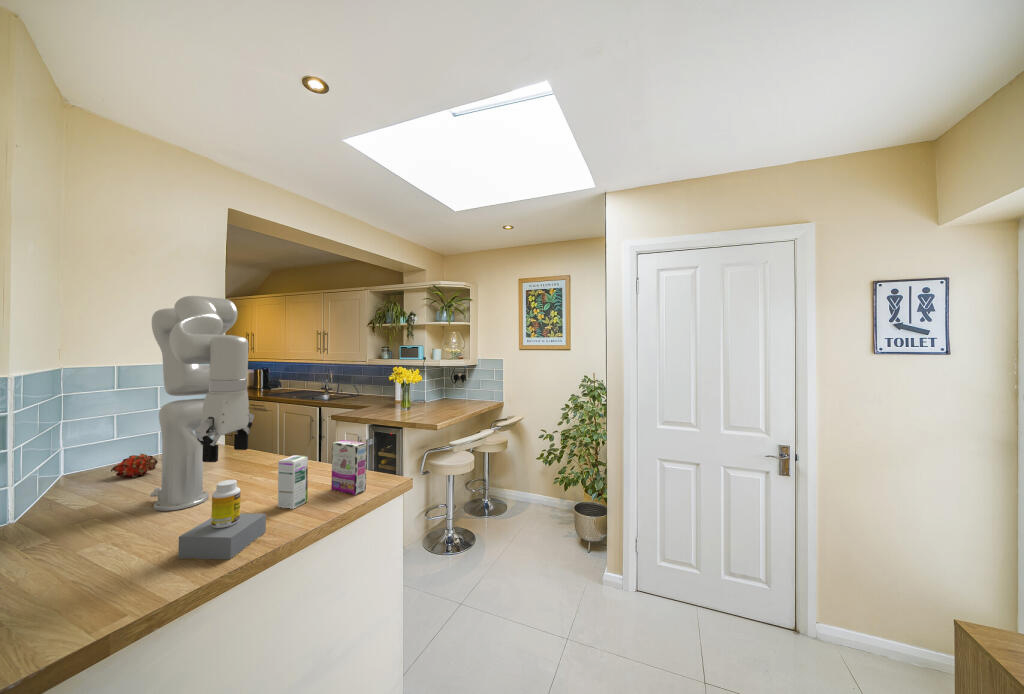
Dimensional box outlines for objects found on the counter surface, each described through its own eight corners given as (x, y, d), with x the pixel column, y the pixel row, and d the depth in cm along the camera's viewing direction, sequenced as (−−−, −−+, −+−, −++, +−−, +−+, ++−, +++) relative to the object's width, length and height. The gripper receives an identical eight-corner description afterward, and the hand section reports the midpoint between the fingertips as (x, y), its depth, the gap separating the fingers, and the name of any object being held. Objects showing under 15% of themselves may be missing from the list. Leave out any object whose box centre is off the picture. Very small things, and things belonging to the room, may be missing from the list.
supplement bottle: (237, 526, 89) (237, 484, 89) (208, 531, 87) (209, 488, 87) (242, 516, 94) (243, 477, 94) (214, 520, 92) (215, 480, 92)
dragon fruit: (160, 476, 138) (114, 489, 130) (159, 459, 142) (114, 470, 134) (156, 462, 133) (108, 474, 125) (155, 445, 138) (108, 455, 130)
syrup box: (293, 509, 110) (294, 461, 110) (276, 507, 111) (277, 459, 111) (307, 502, 115) (308, 456, 115) (291, 500, 116) (292, 454, 116)
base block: (178, 558, 84) (178, 536, 84) (219, 531, 96) (220, 512, 96) (230, 559, 84) (231, 537, 84) (265, 532, 96) (266, 513, 96)
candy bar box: (366, 490, 125) (367, 442, 125) (355, 495, 121) (356, 446, 121) (342, 485, 130) (343, 439, 130) (330, 490, 125) (331, 442, 125)
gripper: (239, 381, 99) (237, 445, 99) (181, 390, 81) (179, 466, 82) (267, 382, 99) (265, 446, 99) (215, 391, 81) (213, 467, 82)
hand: (226, 455), depth 90 cm, fingers open, 9 cm apart
